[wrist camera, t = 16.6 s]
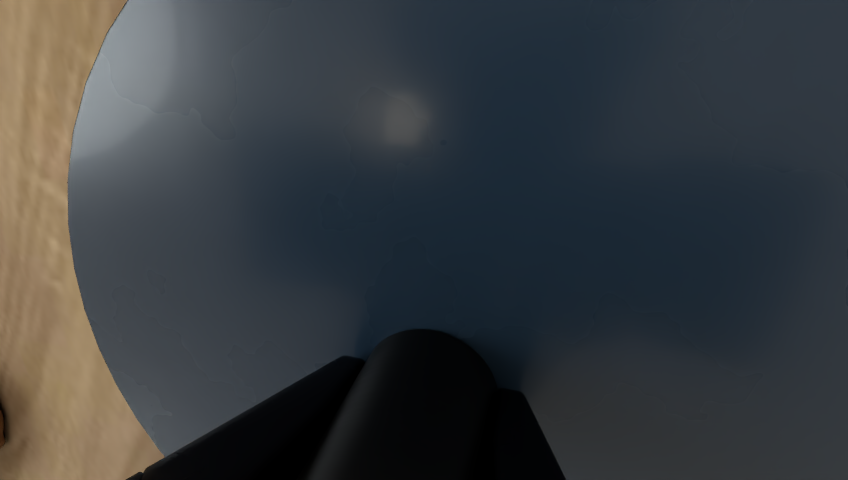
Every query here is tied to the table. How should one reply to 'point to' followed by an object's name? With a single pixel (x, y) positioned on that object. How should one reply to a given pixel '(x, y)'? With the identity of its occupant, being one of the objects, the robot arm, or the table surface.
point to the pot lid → (478, 227)
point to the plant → (1, 431)
